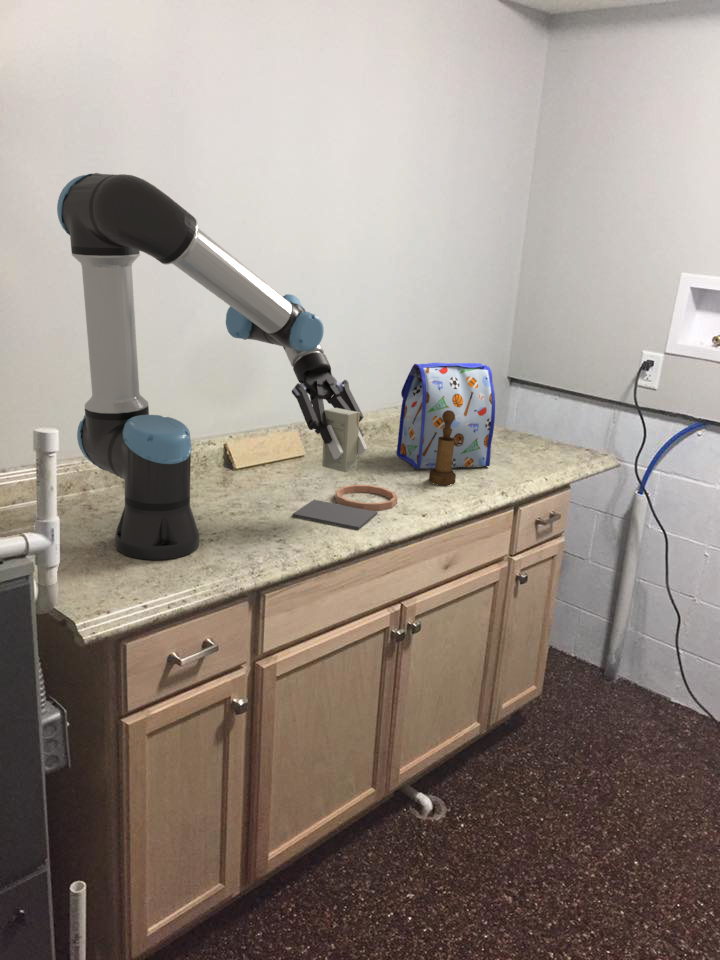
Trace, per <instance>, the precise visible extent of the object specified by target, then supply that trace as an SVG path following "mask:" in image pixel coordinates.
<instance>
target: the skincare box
mask: <svg viewBox="0 0 720 960" xmlns="http://www.w3.org/2000/svg"><path fill="white" fill-rule="evenodd" d="M359 413H360V412H356V411H351V410H345V409H340V408H334V407H333V408H329V409H325V415H326V421H327V425H326V426H328V425H331V426H332V428H333V430H334V433H335V435H336V437H337V439H338V442H339V444H340V446H341V448H342V450H343V453H342V454H341V455H340V456H339V457H338V459H334V458H333V456H332V454H331V451H330V449H329V447H328V445H327V444H325V443H324V441H323V440H322V444H323V445H322V463H321V466H322V467H323V468H328V469H330V470H335V471H338V472H343V473H347V472H350V471H353V470H355V469H357V468H358V467H357V466H358V465H357V464H358V454H357V451H358V433H359V427H360V422H359Z"/></svg>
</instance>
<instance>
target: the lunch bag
mask: <svg viewBox="0 0 720 960" xmlns="http://www.w3.org/2000/svg"><path fill="white" fill-rule="evenodd" d="M400 395H401V398H402V401H401V409H400V416H399V426H398V427H399V428H398V433H397V435H398V436H397V437H398V438H397V446H396V456H397V457H398V458H399V459H401V460H403V461H405V462H407V463H408V464H410V465H412V467H413V468H414V469H415V470H418V469H421V470H422V469H424V470H428V469H431V470H433V469H434V468H435V466H436V458H437V449H438V439H439V437H444V436H443V428H444V427H445V423H444V421H443V418H442V416H443V413H444V412H445V411H447V410H449V411H453V412H454V414H455V419H454V421H453V422H452V424H451V429H452V433H451V435H450V437H451V438H453V439H455V441H454V450H453V458H452V466H451V469H455V468H457V467H458V468H459V467H468V468H477V467H476V466H489V467H490V466H491V456H492V455H491V453H492V452H491V451H492V449H491V448H492V442H493V441H492V440H493V435H494V429H495V422H496V421H495V419H496V393H495V387H494V383H493V372H492V369H491V367H490V366H488V365H487V364H482V363H480V362H476V363H475V362H472V363H471V362H467V363H465V362H464V363H463V362H462V363H460V362H454V363H453V362H451V363H447V362H446V363H445V362H428V363H419V364H418V363H414V364H413V365H412V367H411V369H410V371H409V373H408V375H407V377H406V379H405V381H404V383H403V386H402V388H401V394H400ZM459 469H460V468H459Z"/></svg>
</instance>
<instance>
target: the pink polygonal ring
mask: <svg viewBox="0 0 720 960" xmlns="http://www.w3.org/2000/svg"><path fill="white" fill-rule="evenodd" d="M334 493H335V495H334V496H335V497H334V499H335V501H336V504H340V505H345V506H350V507H355V508H360V509H366V510H371V511H376V512H379V511H384V510H390V509H392V508H394V507H395V506H396V505H397V504H398V496H397V494H396V492H395V491H392V490H390V489H388V488H385V487H382V486H376V485H371V484H350V485H344V486H341V487H340V488H338V489H337V490H335V491H334ZM351 493H371V494H375V495H376V494H377V495H381V496H384V497H385V498H388V499H389V500H386V501H381V502H361V501H356V500H351V499H349V498H346V497H344V495H345V494H351Z"/></svg>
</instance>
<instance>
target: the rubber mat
mask: <svg viewBox="0 0 720 960" xmlns="http://www.w3.org/2000/svg"><path fill="white" fill-rule="evenodd" d="M377 515H378V511H371V510H366V509H360V508H355V507H350V506H345V505H341V504H339V503H335V502H328V501H324V500H319V499H313V500H311V501H309V502H308V503H307V504H305V505H304V506H302V507H300V508H299V509H297V510H296V511H295V512H293V513H292V517H294V518H299V519H302V518H303V520H307V519H308V520H309V521H313V522H318V523H323V524H328V525H333V526H338V527H343V528H348V529H353V530H356V531H360V530H361V529H362V528H363V527H364V526H365V525H367V524H368V523H369V522H370V521H371V520H372V519H374V518H375V517H376V516H377ZM308 520H307V521H308Z"/></svg>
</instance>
